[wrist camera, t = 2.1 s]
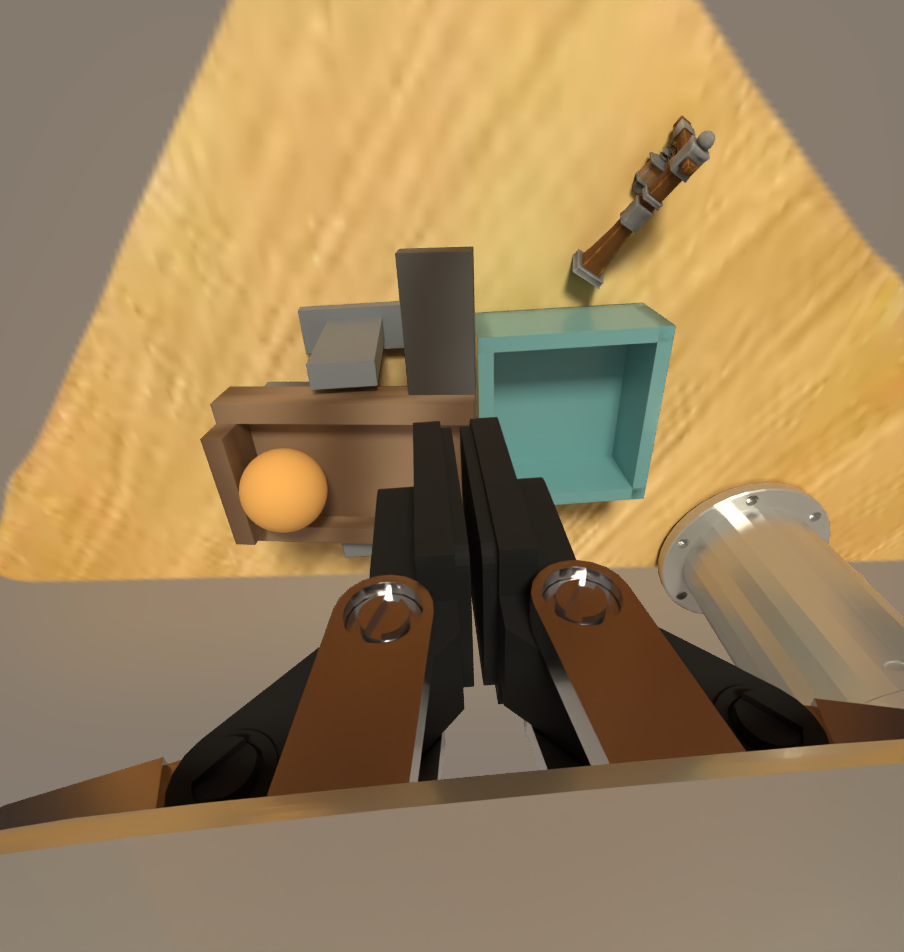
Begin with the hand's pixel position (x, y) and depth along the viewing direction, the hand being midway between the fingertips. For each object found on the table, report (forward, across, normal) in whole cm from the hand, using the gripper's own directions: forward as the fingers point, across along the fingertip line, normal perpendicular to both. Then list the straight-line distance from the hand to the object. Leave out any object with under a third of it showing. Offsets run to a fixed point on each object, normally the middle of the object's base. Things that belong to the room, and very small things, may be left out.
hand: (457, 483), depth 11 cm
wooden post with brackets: (+21, -10, -3) cm, 24 cm away
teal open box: (+21, -7, +8) cm, 24 cm away
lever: (+18, +4, +5) cm, 19 cm away
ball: (+12, +8, +8) cm, 16 cm away
